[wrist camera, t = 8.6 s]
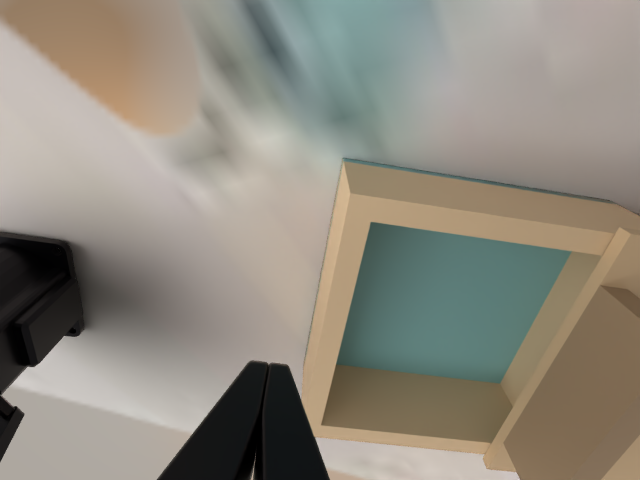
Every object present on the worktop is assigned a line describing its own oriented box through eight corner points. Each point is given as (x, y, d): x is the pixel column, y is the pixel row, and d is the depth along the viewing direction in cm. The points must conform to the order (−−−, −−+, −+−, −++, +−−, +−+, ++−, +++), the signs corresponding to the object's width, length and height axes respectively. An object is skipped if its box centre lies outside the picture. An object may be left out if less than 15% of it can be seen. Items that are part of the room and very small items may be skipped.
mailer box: (303, 364, 24) (299, 435, 20) (342, 158, 18) (350, 193, 13) (504, 388, 25) (544, 460, 21) (609, 200, 19) (697, 246, 14)
